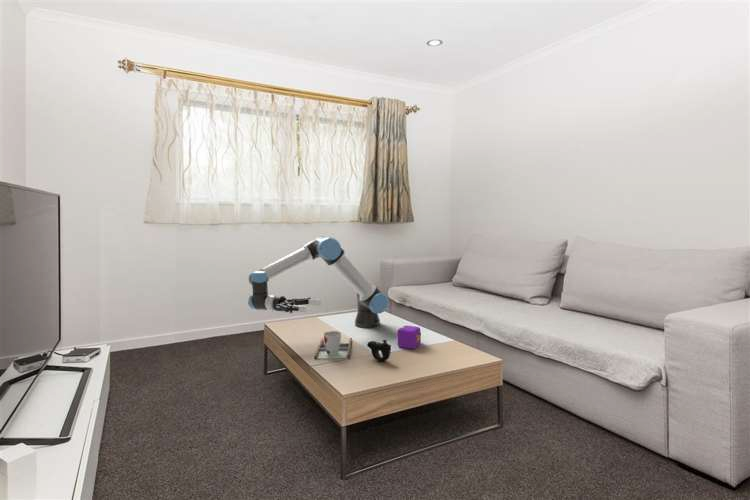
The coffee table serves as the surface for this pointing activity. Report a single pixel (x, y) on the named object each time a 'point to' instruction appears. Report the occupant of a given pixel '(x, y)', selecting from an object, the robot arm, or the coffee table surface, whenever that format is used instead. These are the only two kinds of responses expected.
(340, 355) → the pad
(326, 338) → the cup
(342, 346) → the tray
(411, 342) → the toy camera
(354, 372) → the coffee table surface
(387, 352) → the controller
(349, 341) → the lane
